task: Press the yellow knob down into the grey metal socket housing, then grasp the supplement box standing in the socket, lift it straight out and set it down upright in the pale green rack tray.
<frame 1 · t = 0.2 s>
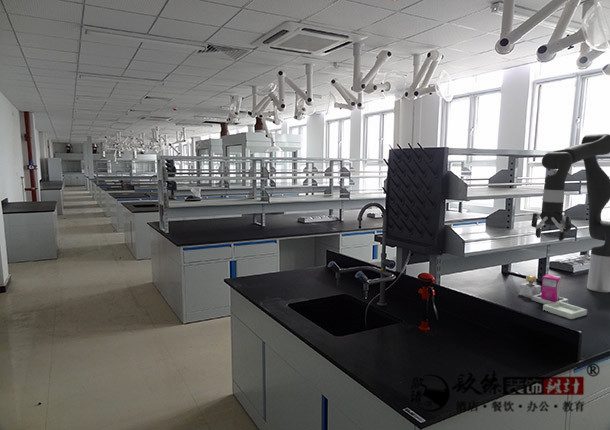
hand: (549, 239, 169), 28 cm above the worktop, fingers open, 8 cm apart
supplement box: (549, 302, 174), resting in socket block
rack tray: (564, 312, 162), on the worktop
yellow knob: (530, 283, 181), point 6 cm above the worktop, slide at 0.0 cm
socket block: (542, 299, 177), on the worktop
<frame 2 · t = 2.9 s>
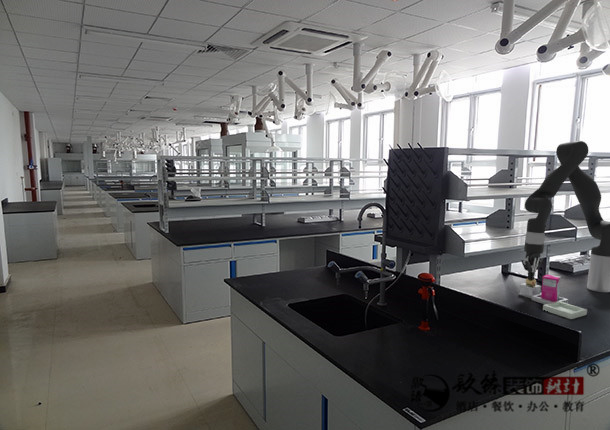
hand: (530, 279, 181), 8 cm above the worktop, fingers closed
yellow knob: (530, 286, 181), point 4 cm above the worktop, slide at 1.5 cm, touching gripper
everything else where it was.
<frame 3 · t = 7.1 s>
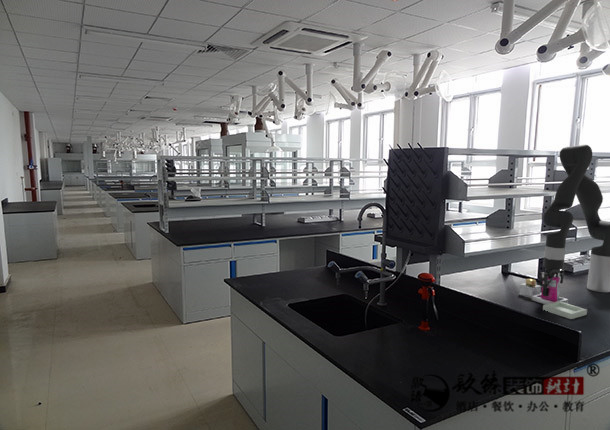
hand: (550, 294, 173), 3 cm above the worktop, fingers closed on supplement box, 6 cm apart
supplement box: (549, 302, 174), resting in socket block, touching gripper
yellow knob: (530, 287, 181), point 4 cm above the worktop, slide at 1.6 cm
when the fingers open (5 cm above the worktop, at t = 12.4 s): supplement box drops 1 cm, resting on rack tray.
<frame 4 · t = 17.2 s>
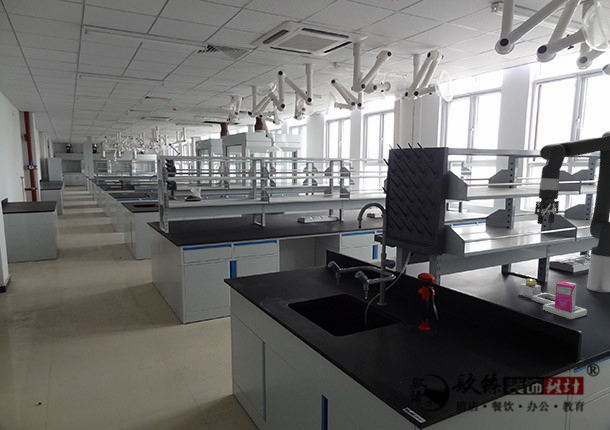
hand: (545, 223, 186), 32 cm above the worktop, fingers open, 8 cm apart
supplement box: (564, 311, 162), resting on rack tray
everything else where it was.
at the end: supplement box 0.3 cm from the rack tray (horizontally); supplement box tilted 0°; yellow knob slide at 1.6 cm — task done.
